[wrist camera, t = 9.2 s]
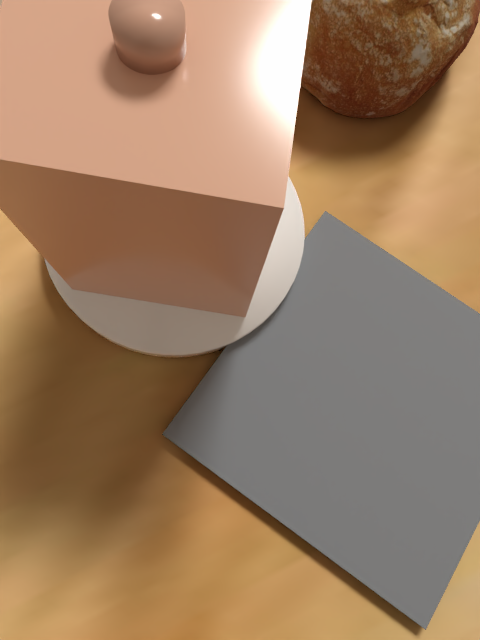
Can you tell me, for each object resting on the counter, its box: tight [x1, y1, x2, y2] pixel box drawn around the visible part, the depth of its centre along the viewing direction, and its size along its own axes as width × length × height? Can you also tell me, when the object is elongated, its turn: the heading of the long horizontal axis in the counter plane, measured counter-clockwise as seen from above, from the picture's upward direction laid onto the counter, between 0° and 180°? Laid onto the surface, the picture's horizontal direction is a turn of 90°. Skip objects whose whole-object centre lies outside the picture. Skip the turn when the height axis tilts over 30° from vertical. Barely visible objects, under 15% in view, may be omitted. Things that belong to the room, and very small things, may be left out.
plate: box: [44, 176, 305, 357], centre depth 19 cm, size 11×11×1 cm
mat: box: [162, 211, 480, 630], centre depth 18 cm, size 12×12×1 cm
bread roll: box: [300, 0, 480, 118], centre depth 21 cm, size 10×10×8 cm
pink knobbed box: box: [0, 0, 312, 317], centre depth 14 cm, size 7×7×10 cm
